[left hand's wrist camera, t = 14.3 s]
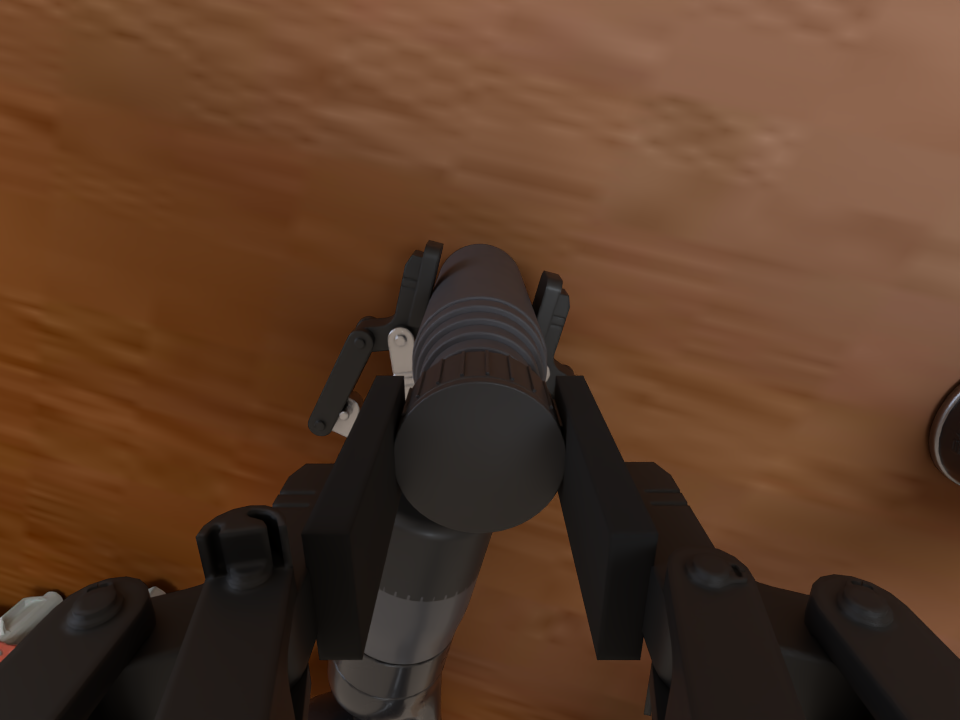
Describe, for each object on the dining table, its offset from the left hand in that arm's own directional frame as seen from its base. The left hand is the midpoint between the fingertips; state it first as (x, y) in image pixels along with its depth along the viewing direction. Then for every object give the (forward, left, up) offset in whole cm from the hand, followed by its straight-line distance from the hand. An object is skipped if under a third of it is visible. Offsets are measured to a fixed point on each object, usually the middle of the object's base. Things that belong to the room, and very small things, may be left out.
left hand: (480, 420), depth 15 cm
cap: (0, 0, +2) cm, 2 cm away
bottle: (0, 0, -17) cm, 17 cm away
